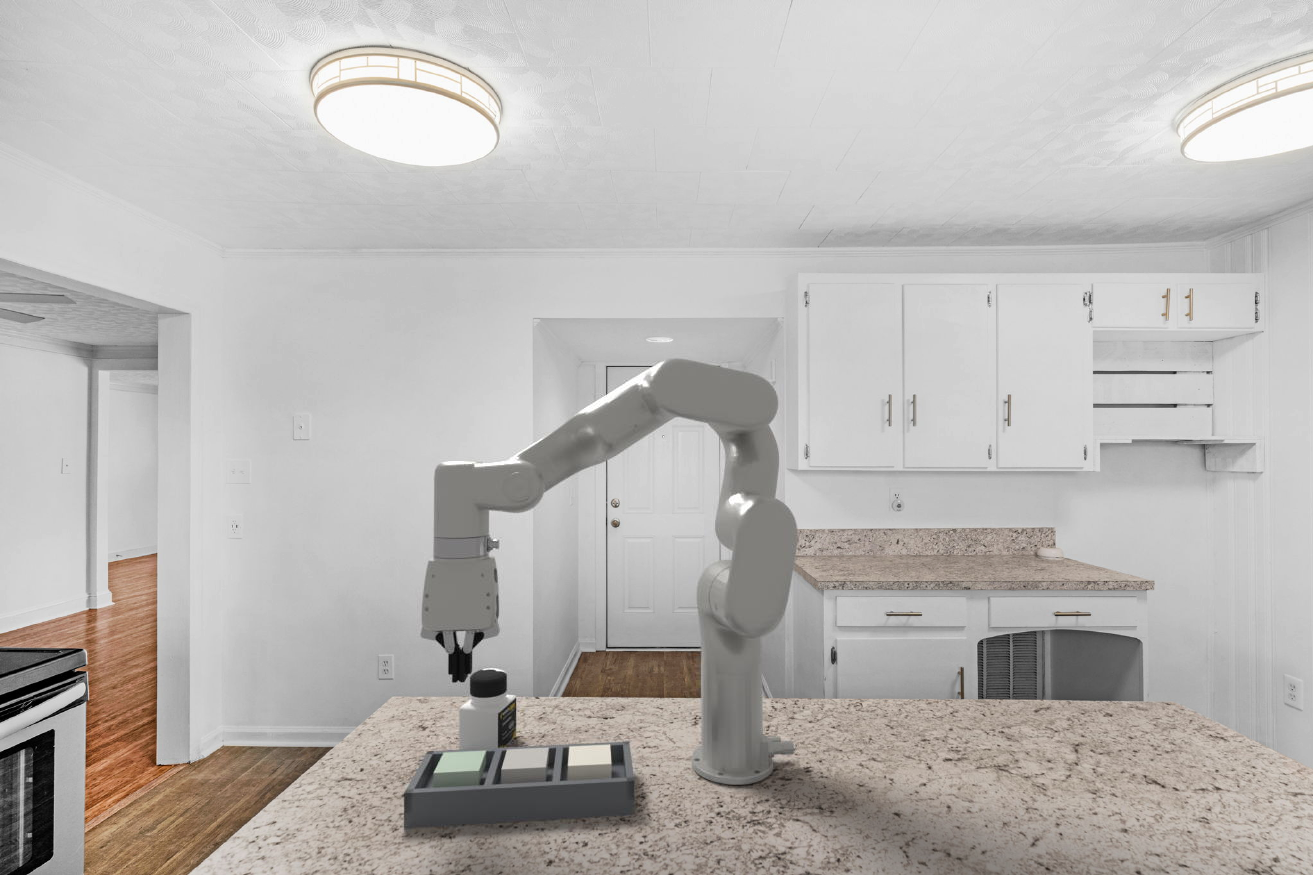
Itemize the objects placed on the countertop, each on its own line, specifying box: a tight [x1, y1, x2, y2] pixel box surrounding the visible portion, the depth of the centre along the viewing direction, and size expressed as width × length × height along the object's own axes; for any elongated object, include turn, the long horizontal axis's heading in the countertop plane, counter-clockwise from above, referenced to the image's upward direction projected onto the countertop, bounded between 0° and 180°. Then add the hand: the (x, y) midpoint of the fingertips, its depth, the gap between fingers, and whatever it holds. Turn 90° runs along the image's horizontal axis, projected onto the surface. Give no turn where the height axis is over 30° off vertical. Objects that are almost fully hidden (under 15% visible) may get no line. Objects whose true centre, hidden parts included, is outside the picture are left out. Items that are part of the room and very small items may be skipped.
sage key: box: [433, 751, 486, 788], centre depth 90 cm, size 6×6×2 cm
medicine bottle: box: [458, 667, 517, 750], centre depth 108 cm, size 7×7×12 cm
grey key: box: [501, 748, 549, 784], centre depth 91 cm, size 6×6×2 cm
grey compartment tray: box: [403, 741, 636, 829], centre depth 91 cm, size 30×12×4 cm, turn 96°
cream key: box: [568, 745, 611, 781], centre depth 92 cm, size 6×6×2 cm
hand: (460, 678), depth 91 cm, fingers closed
